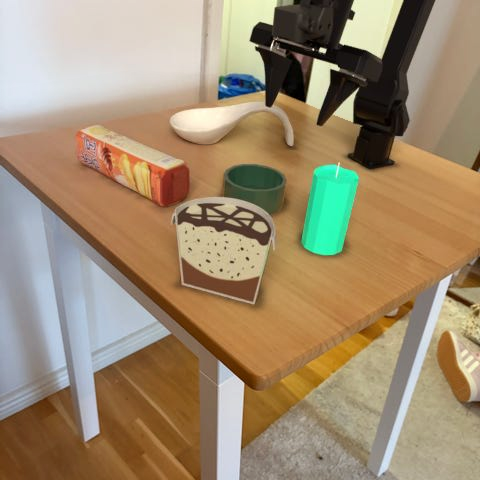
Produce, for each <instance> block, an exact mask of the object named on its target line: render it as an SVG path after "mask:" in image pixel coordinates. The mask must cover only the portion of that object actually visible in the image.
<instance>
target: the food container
mask: <svg viewBox="0 0 480 480" xmlns="http://www.w3.org/2000/svg"><path fill="white" fill-rule="evenodd" d="M173 224H175V227H176V228H175V230H176V240H177V241H176V242H177V250H178V261H179V270H180V279H181V285H182V286H185V287H189V288H192V289H196V290H199V291H203V292H207V293H210V294H214V295H217V296H221V297H225V298H229V299H232V300H235V301H239V302H242V303H247V304H251V305H254V306H255V304H256V301H257V299H258V296H259V291H260V288H261V284H262V280H263V276H264V272H265V268H266V266H267V261H268V256H269V253H270V249H271V245H272V248H273V249H272V250H273V251H276V248H277V244H278V243H277V242H278V239H277V229H276V225H275V223H274V220H273V217H272V216H271V214H268V213H267V212H266V211H265V210H263V209H262V208H260V207H258V206H256V205H254V204H252V203H249V202H246V201H243V200H239V199H234V198H226V197H223V196H208V197H200V198H194V199H191V200H187V201H186V202H183V203H182V204H179V205H178V206H177V207H175V209H174V212H173V213H172V214H171V221H170V225H171V226H173Z"/></svg>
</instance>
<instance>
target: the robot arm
mask: <svg viewBox="0 0 480 480" xmlns="http://www.w3.org/2000/svg"><path fill="white" fill-rule="evenodd" d="M354 2H355V0H300V1H299V3H298V4H286V5H279V6H275V7H274V9H273V20H272V24H270V23H266V22H262V21H259V22H257V23H256V24H255V25H254V26H253V27H252V29H251V33H250V36H249V40H248V42H250V43H252V44H255V45H257V46H254V50H255V51H256V52H257V53H259V55H260V58H261V60H262V62H263V68H264V69H263V70H264V94H265V95H264V98H265V99H264V102H265V105H266V107H269V108H271V107H272V105H274V103H275V101H276V100H277V97H278V95H279V93H280V91H281V88H282V86H283V83H284V81H285V78H286V77H287V74H288V71H289V69H290V67H291V64H292V62H293V59H290V58H288V57H287V56H290V55H291V54H292V53H294V54H298V55H301V56H303V57H308V58H311V59H315V60H318V61H321V62H325V63H328V64H332V65H335V66H337V68H338V69H339V70H336V69H333V68H330V69H329V86H328V88H327V91H326V93H325V96H324V99H323V102H322V104H321V107H320V110H319V112H318V116H317V119H316V126H318V127H323V126H324V125H325V124H326V123H327V121H328V120H329V119H330V118H331V117H332V116H333V115H334V113H335V112H336V111H337V110H338V109H339V108H340V107H341V105H343V103H345V101H347V100H348V99H349V98H350V97H351V96H352V95H353V94H354V93H355V92H356V93H355V96H354V98H353V103H352V104H353V105H352V124H354V125H358V126H360V127H359V132H358V135H357V136H356V140H355V145H354V149H353V152H349V153H348V154H347V157H348V158H349V159H351V160H353V161H355V162H357V163H358V164H360V165H361V166H364V167H366V168H367V169H369V170H373V169H379V168H382V167H387V166H393V165H395V163H396V161H395V160H394V159H392V158H391V152H392V149H393V145H394V141H395V139H396V137H403V136H404V134H405V133H406V131H407V129H408V127H409V124H410V121H411V120H410V116H409V112H408V111H409V110H408V108H407V104H406V103H407V100H408V97H409V94H410V90H409V81H408V72H409V68H410V67H411V64H412V61H413V58H414V56H415V53H416V51H417V48H418V45H419V44H420V41H421V38H422V36H423V33H424V31H425V29H426V26H427V23H428V20H429V19H430V15H431V12H432V10H433V8H434V5H435V3H436V0H403V1H401V6H400V7H399V10H398V13H397V16H396V19H395V21H394V24H393V26H392V29H391V32H390V35H389V37H388V40H387V43H386V46H385V48H384V51H383V54H382V56H381V57H380V56H377V55H376V54H374V53H372V52H370V51H368V50H367V49H363V48H359V47H356V46H352V45H349V44H342V43H340V42H341V40H342V37H343V33H344V32H345V31H344V30H345V29H346V26H347V22H348V21H353V20H354V17H355V15H356V12H355V10H353V5H354ZM320 49H324V50H325V52H323V51H322V52H321V51H320ZM285 56H286V57H285Z"/></svg>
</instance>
